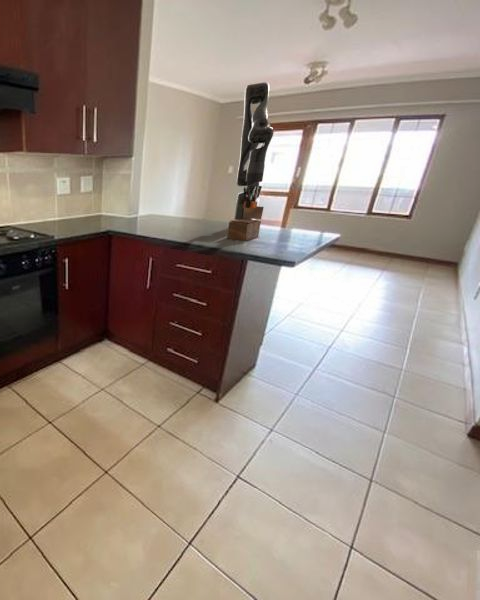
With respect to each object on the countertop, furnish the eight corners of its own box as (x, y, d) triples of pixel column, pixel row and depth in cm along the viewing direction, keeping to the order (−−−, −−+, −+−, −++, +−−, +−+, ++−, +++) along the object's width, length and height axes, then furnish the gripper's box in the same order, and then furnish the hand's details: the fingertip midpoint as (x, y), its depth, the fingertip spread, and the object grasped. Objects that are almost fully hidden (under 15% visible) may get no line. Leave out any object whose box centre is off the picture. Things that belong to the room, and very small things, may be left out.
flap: (242, 217, 180) (242, 217, 180) (260, 219, 173) (261, 219, 173) (244, 205, 178) (245, 205, 178) (263, 206, 171) (263, 206, 171)
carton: (240, 234, 184) (242, 217, 180) (258, 236, 176) (261, 219, 173) (227, 238, 177) (229, 220, 173) (245, 240, 169) (248, 222, 166)
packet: (247, 206, 176) (248, 201, 174) (256, 207, 172) (257, 201, 171) (243, 207, 173) (244, 201, 172) (252, 208, 170) (253, 202, 168)
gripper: (255, 171, 173) (249, 205, 179) (240, 172, 165) (235, 208, 171) (269, 171, 167) (264, 206, 174) (255, 172, 159) (249, 209, 166)
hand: (249, 207), depth 172 cm, fingers closed on packet, 4 cm apart
